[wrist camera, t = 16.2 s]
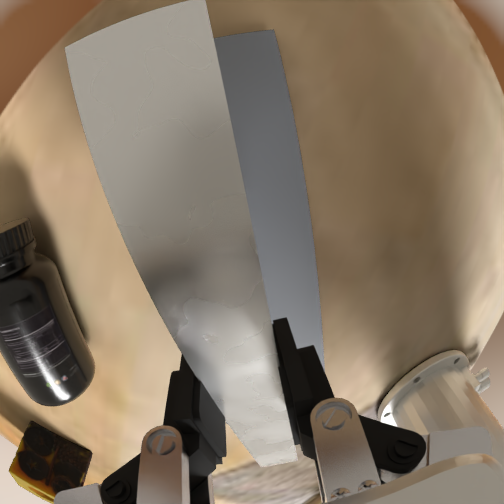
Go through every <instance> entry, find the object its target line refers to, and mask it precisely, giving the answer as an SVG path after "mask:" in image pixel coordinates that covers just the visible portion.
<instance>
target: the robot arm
mask: <svg viewBox="0 0 504 504" xmlns="http://www.w3.org/2000/svg"><path fill="white" fill-rule="evenodd" d="M272 329H273V334H274V339H275V344H276V349H277V354H278V359H279V365H280V366H279V367H278V370H279V375H280V380H281V385H282V390H283V395H284V400H285V405H286V409H287V414H288V418H289V423H290V427H291V432H292V436H293V440H294V445H298V444H300V445H301V449H302V451H303V454H304V455H305V456H307V457H309V458H311V459H313V460H314V463H315V469H316V474H317V479H318V484H319V489H320V495H321V500H322V504H504V429H503V427H502V426H501V424H500V423H499V422H498V420H497V419H496V417H495V416H494V414H493V413H492V412H491V410H490V409H489V407H488V406H487V405H486V403H485V402H484V401H483V399H482V398H481V397H480V395H479V393H481V392H483V391H484V390H486V389H487V388H488V387H489V386H490V379H489V374H490V373H489V369H488V368H483V369H482V370H480V371H479V372H478V373H476V374H472V372H471V371H470V370H469V364H470V363H469V359H468V358H467V357H466V355H465V354H464V353H463V352H461V351H458V350H450V351H446V352H443V353H440V354H438V355H435V356H433V357H431V358H430V359H428V360H426V361H424V362H423V363H421V364H420V365H418V366H417V367H416V368H414V369H413V370H412V371H410V372H409V373H408V374H407V375H405V376H404V377H403V378H402V379H401V380H400V381H399V382H398V383H397V384H396V385H395V386H394V387H393V388H392V389H391V390H390V391H389V392H388V394H387V395H386V397H385V398H384V399H383V401H382V403H381V405H380V407H379V410H378V419H379V421H376V420H373V419H370V418H367V417H364V416H361V415H358V413H357V410H356V408H355V407H354V405H353V404H352V403H351V402H349V401H348V400H345V399H342V398H335V397H334V395H333V392H332V389H331V387H330V384H329V382H328V379H327V377H326V374H325V372H324V369H323V367H322V364H321V361H320V359H319V356H318V354H317V351H316V349H315V347H314V345H311V346H307V347H303V348H299V349H297V347H296V344H295V341H294V338H293V335H292V332H291V328H290V325H289V322H288V319H287V317H285V318H281V319H276V320H273V324H272ZM222 457H226V430H225V417H224V415H223V414H222V412H221V411H220V409H219V408H218V406H217V405H216V403H215V402H214V400H213V399H212V397H211V396H210V394H209V393H208V391H207V390H206V388H205V386H204V385H203V383H202V382H201V381H199V380H198V379H197V377H196V376H195V374H194V372H193V371H192V369H191V368H190V366H189V364H188V363H187V361H186V359H185V358H184V356H183V354H182V357H181V364H180V370H179V371H173V372H172V373H171V377H170V383H169V390H168V396H167V402H166V409H165V416H164V423H163V425H162V426H157V427H155V428H153V429H151V430H150V431H149V432H147V433H146V435H145V436H144V438H143V441H142V446H141V453H140V454H138V455H137V456H136V457H134V458H133V459H132V460H130V461H129V462H128V463H126V464H125V465H124V466H122V467H121V468H119V469H118V470H117V471H115V472H114V473H112V474H111V475H110V476H108V477H107V478H106V479H105V480H104V481H103V483H102V484H100V485H99V484H98V483H95V484H91V485H87V486H82V487H78V488H74V489H69V490H64V491H61V492H59V493H58V494H57V495H56V496H55V498H54V504H215V502H214V491H213V480H212V472H213V471H214V470H215V469H216V464H222Z"/></svg>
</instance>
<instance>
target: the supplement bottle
mask: <svg viewBox="0 0 504 504" xmlns="http://www.w3.org/2000/svg"><path fill="white" fill-rule="evenodd" d="M36 245H37V242H36V238H35V237H34V236H33V232H32V228H31V224H30V220H29V218H23V219H18V220H14V221H11V222H8V223H6V224H3V225H0V353H1V354H2V356H3V358H4V359H5V361H6V363H7V364H8V366H9V368H10V369H11V371H12V372H13V374H14V376H15V377H16V379H17V380H18V382H19V383H20V385H21V386H22V387H23V389H24V390H25V392H26V393H27V394H28V396H29V397H30V398H31V399H32V400H34V401H35V402H37V403H39V404H41V405H45V406H60V405H64V404H67V403H69V402H71V401H73V400H75V399H76V398H78V397H79V396H80V395H81V394H83V393H84V392H85V390H86V389H87V388H88V387H89V385H90V383H91V382H92V379H93V377H94V373H95V362H94V359H93V356H92V354H91V352H90V350H89V348H88V345H87V343H86V341H85V339H84V337H83V334H82V332H81V330H80V328H79V325H78V323H77V321H76V318H75V316H74V313H73V311H72V308H71V306H70V303H69V300H68V298H67V295H66V292H65V290H64V287H63V284H62V281H61V278H60V275H59V272H58V270H57V267H56V265H55V264H54V262H53V261H52V260H51V259H50V258H48V257H46V256H44V255H41V254H38V253H35V249H34V248H35V247H36Z"/></svg>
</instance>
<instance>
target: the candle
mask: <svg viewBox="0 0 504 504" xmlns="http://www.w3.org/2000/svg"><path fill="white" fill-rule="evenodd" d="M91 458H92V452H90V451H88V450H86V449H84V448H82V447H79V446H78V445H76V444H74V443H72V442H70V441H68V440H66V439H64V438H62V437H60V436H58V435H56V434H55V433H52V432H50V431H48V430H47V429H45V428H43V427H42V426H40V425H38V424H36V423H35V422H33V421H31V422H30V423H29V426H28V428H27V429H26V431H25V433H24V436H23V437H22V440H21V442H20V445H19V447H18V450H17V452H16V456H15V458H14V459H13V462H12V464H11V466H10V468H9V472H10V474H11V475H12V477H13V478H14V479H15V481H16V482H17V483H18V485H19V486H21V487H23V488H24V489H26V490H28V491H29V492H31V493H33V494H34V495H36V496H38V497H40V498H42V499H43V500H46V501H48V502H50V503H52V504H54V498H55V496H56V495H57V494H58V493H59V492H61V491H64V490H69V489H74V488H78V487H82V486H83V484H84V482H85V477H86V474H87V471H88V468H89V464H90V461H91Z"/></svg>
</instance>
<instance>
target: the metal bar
mask: <svg viewBox="0 0 504 504" xmlns="http://www.w3.org/2000/svg"><path fill="white" fill-rule="evenodd" d="M65 53H66V58H67V63H68V68H69V73H70V78H71V83H72V87H73V91H74V95H75V99H76V103H77V107H78V111H79V115H80V119H81V122H82V126H83V129H84V133H85V136H86V139H87V143H88V146H89V149H90V152H91V155H92V158H93V161H94V164H95V167H96V170H97V173H98V176H99V179H100V181H101V184H102V187H103V190H104V192H105V195H106V198H107V200H108V203H109V205H110V208H111V210H112V213H113V215H114V218H115V220H116V223H117V225H118V228H119V230H120V232H121V235H122V237H123V239H124V242H125V244H126V246H127V248H128V251H129V253H130V255H131V257H132V259H133V262H134V264H135V266H136V268H137V270H138V272H139V274H140V276H141V278H142V280H143V282H144V284H145V287H146V289H147V291H148V292H149V294H150V296H151V298H152V300H153V302H154V304H155V306H156V308H157V310H158V312H159V314H160V316H161V317H162V319H163V321H164V323H165V325H166V327H167V328H168V330H169V332H170V334H171V335H172V337H173V339H174V341H175V342H176V344H177V346H178V348H179V349H180V351H181V353H182V354H183V356H184V358H185V359H186V361H187V363H188V364H189V366H190V368H191V369H192V371H193V372H194V374H195V376H196V377H197V379H198V380H199V381H201V382H202V383H203V385H204V386H205V388H206V390H207V391H208V393H209V394H210V396H211V397H212V399H213V400H214V402H215V403H216V405H217V406H218V408H219V409H220V411H221V412H222V414H223V415H224V417H225V420H226V422H227V423H228V425H229V426H230V427H231V429H232V430H233V431H234V433H235V434H236V436H237V437H238V438H239V440H240V441H241V442H242V444H243V445H244V446H245V447H246V449H247V450H248V451H249V453H250V454H251V455H252V456H253V458H254V459H255V460H256V461H257V463H258V464H259V465H260V466H261V467H266V466H272V465H278V464H283V463H288V462H293V461H297V460H298V459H297V454H296V448H295V445H294V440H293V436H292V432H291V427H290V423H289V418H288V414H287V409H286V405H285V400H284V395H283V390H282V385H281V380H280V375H279V370H278V367H279V366H280V365H279V359H278V354H277V349H276V344H275V339H274V334H273V329H272V323H271V318H270V313H269V308H268V303H267V298H266V293H265V288H264V283H263V278H262V273H261V268H260V263H259V258H258V253H257V248H256V243H255V238H254V233H253V228H252V223H251V218H250V213H249V208H248V203H247V198H246V193H245V188H244V183H243V178H242V173H241V168H240V163H239V159H238V154H237V149H236V144H235V139H234V134H233V129H232V124H231V120H230V115H229V110H228V105H227V100H226V95H225V91H224V86H223V81H222V76H221V71H220V67H219V62H218V57H217V52H216V48H215V43H214V38H213V34H212V29H211V24H210V19H209V15H208V10H207V5H206V1H205V0H189V1H185V2H181V3H177V4H173V5H169V6H165V7H162V8H159V9H155V10H152V11H149V12H146V13H143V14H140V15H137V16H134V17H131V18H129V19H126V20H123V21H121V22H118V23H116V24H113V25H111V26H108V27H106V28H104V29H101V30H99V31H97V32H95V33H93V34H90V35H88V36H86V37H84V38H82V39H80V40H78V41H76V42H74V43H72V44H70V45H68V46H67V47H65Z"/></svg>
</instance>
